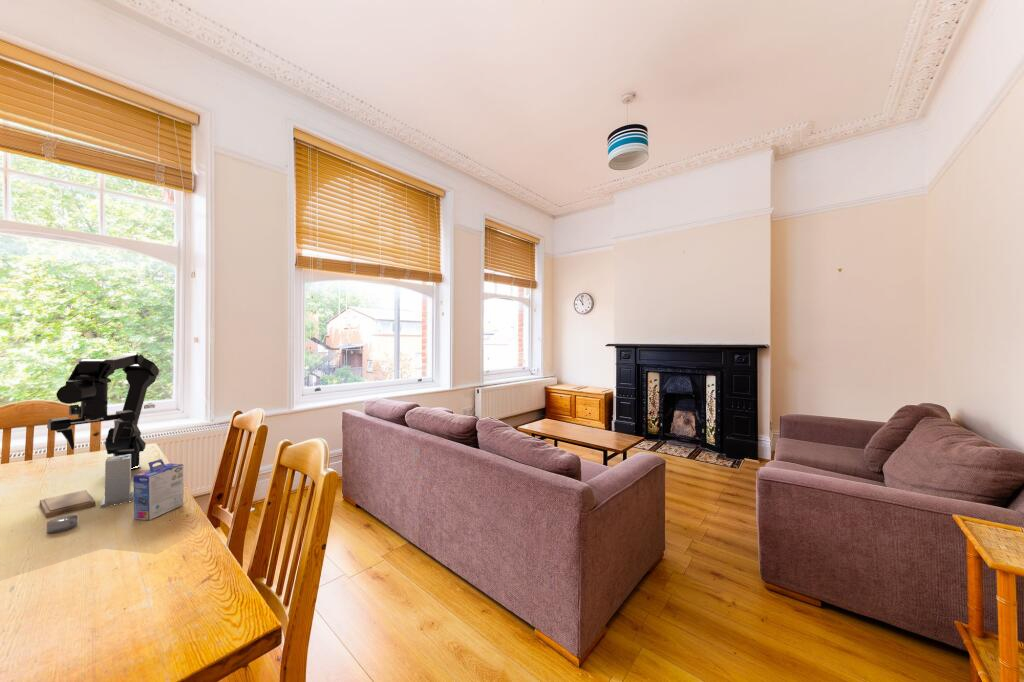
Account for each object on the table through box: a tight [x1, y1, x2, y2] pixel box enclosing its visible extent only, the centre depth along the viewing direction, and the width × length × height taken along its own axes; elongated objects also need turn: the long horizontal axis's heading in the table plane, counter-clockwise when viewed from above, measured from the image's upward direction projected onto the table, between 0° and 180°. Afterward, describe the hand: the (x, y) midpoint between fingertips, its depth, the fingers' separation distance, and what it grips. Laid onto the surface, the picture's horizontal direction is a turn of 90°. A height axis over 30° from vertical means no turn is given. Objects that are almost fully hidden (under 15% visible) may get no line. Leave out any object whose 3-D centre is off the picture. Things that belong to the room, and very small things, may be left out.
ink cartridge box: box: [132, 458, 184, 521], centre depth 107 cm, size 10×6×14 cm, turn 174°
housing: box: [100, 454, 134, 508], centre depth 112 cm, size 6×6×13 cm
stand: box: [39, 489, 97, 518], centre depth 109 cm, size 9×13×2 cm
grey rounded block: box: [46, 514, 78, 535], centre depth 96 cm, size 5×5×2 cm
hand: (93, 445), depth 122 cm, fingers open, 9 cm apart
